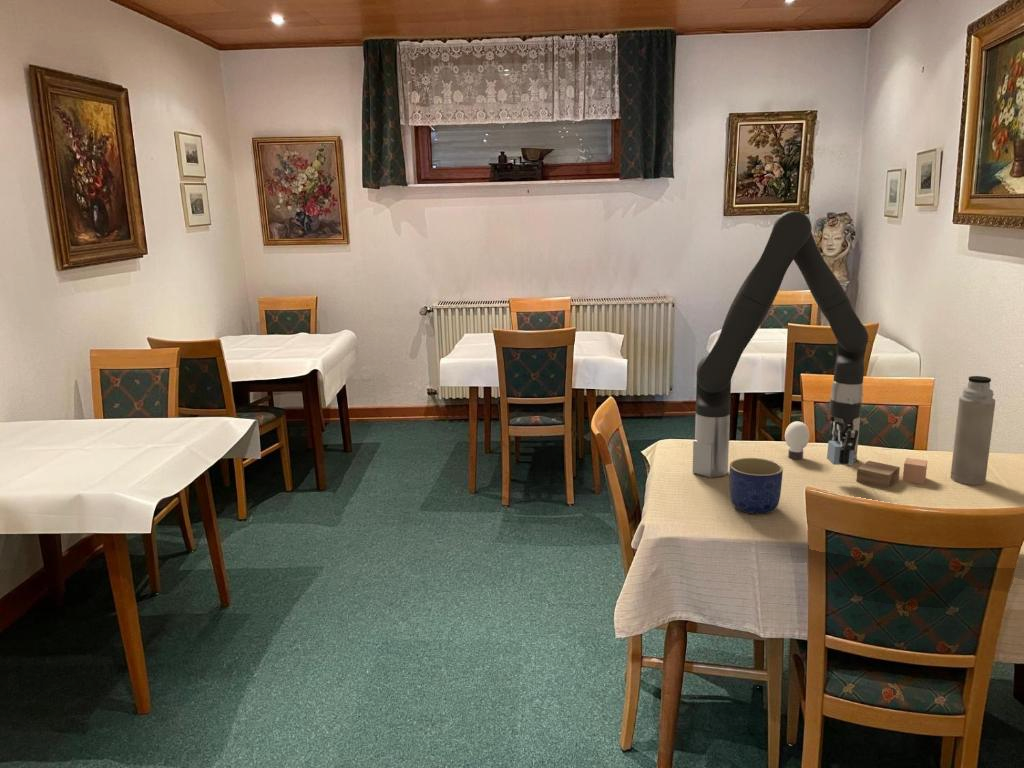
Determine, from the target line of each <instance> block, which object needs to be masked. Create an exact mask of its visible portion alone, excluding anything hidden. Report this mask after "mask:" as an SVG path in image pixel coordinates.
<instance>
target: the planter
mask: <svg viewBox="0 0 1024 768" xmlns="http://www.w3.org/2000/svg"><path fill="white" fill-rule="evenodd" d="M783 473H784V467H783V466H782V465H781V464H780V463H778V462H776V461H773V460H769V459H764V458H760V457H759V458H756V457H746V458H745V457H744V458H738V459H735V460H733V461H731V462H730V464H729V493H730V501H731V504H732V506H734V507H735V508H736V509H737V510H739V511H741V512H743V513H748V514H753V515H754V514H755V515H756V514H757V515H762V514H768V513H771V512H773V511H775V510H776V509H777V507H778V505H779V504H780V499H781V492H782V482H783Z"/></svg>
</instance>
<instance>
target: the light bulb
mask: <svg viewBox="0 0 1024 768" xmlns="http://www.w3.org/2000/svg"><path fill="white" fill-rule="evenodd" d="M810 435H811V434H810V431H809V427H808V426H807V425H806V424H805V423H804V422H802V421H800V420H799V421H792V422H791V423H790V424H788V426H787V427H786V429H785V433H784V439H785V443H786V445H787V447H789V449H788V453H787V454H788V455H787V457H788V458H789V459H791V460H803V458H804V448H805V447H807V445H808V443H809V441H810V438H811V437H810Z"/></svg>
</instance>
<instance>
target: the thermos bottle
mask: <svg viewBox="0 0 1024 768" xmlns="http://www.w3.org/2000/svg"><path fill="white" fill-rule="evenodd" d="M991 382H992V379H991V377H987V376H981V375H973V376H972V375H971V376H968V382H967V386H966V387H964V388H963V391H962V395H960V396H959V399H958V411H957V416H956V424H955V434H954V443H953V451H952V460H951V461H952V462H951V467H950V468H951V470H950V476H949V477H950V479H951V481H953V482H956V483H959V484H962V483H963V485H969V486H979V485H985V483H986V479H987V474H988V473H987V472H988V466H989V464H988V463H989V457H990V456H989V455H990V449H991V448H990V447H991V441H992V431H993V424H994V415H995V407H996V399H995V398H994V395H995V394H994V391H993V390H992V389H991Z"/></svg>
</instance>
